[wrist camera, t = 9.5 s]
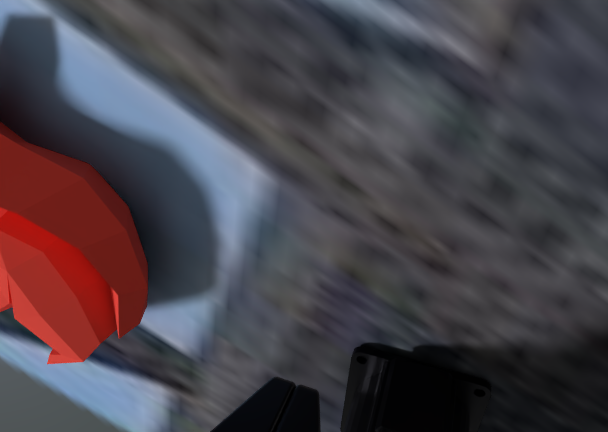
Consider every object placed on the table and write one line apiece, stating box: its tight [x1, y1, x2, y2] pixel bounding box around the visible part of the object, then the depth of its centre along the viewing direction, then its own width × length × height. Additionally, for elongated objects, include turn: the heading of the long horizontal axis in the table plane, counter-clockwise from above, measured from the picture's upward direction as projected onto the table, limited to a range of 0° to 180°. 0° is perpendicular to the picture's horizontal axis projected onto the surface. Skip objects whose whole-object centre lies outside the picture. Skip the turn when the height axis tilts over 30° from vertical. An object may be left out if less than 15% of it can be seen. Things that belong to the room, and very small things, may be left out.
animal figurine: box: [0, 122, 148, 364], centre depth 26 cm, size 12×15×5 cm
